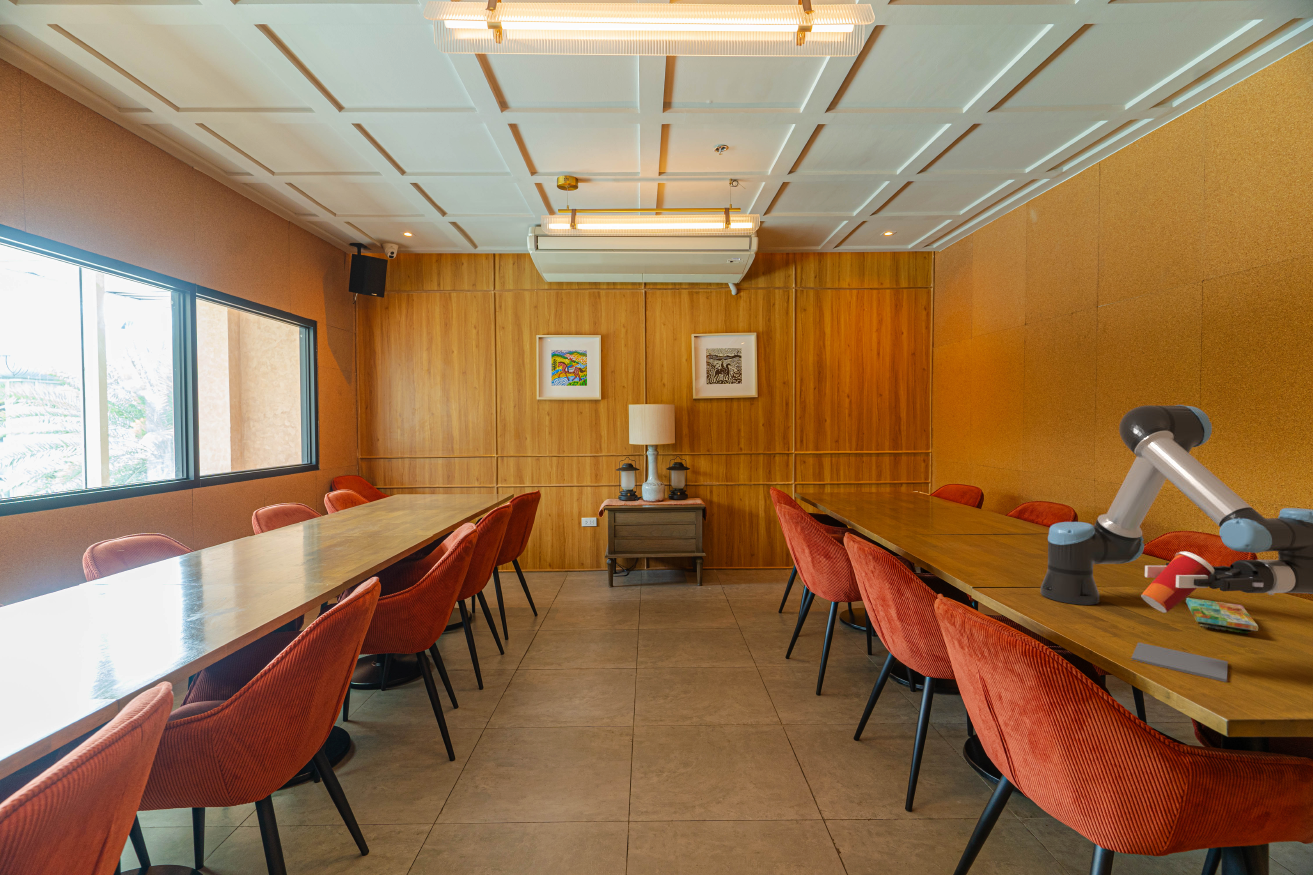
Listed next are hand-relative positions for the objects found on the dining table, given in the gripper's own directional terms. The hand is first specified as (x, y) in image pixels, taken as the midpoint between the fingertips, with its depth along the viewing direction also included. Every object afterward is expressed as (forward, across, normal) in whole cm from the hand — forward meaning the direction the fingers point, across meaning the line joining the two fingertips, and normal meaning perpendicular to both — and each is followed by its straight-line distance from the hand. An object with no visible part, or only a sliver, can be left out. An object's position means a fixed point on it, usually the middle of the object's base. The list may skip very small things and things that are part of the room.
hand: (1161, 576), depth 135 cm
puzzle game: (-38, +25, -20) cm, 50 cm away
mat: (-4, -1, -20) cm, 20 cm away
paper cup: (+2, 0, -6) cm, 7 cm away
